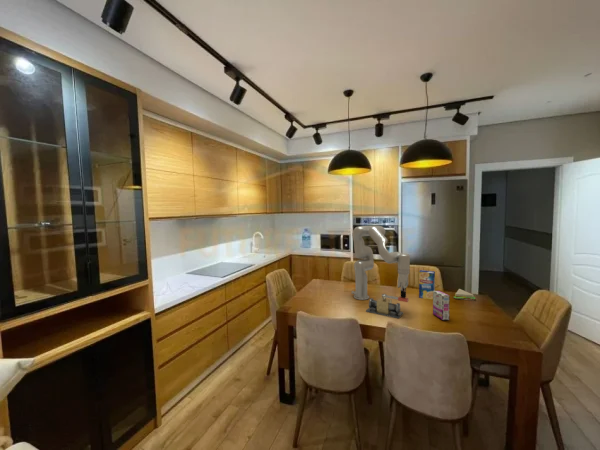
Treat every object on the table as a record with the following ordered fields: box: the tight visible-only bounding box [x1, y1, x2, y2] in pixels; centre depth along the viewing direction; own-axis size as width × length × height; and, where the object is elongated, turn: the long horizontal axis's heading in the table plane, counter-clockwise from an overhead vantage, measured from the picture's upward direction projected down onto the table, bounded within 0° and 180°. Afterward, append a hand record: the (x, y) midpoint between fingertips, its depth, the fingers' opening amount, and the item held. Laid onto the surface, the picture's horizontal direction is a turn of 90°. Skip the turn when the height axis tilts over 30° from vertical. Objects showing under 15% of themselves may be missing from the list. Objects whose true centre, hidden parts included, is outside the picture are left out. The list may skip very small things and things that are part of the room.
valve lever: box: [381, 293, 409, 303], centre depth 180 cm, size 18×3×2 cm, turn 53°
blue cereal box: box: [418, 269, 436, 301], centre depth 212 cm, size 7×11×22 cm, turn 56°
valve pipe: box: [365, 297, 404, 319], centre depth 184 cm, size 23×11×11 cm, turn 54°
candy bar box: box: [432, 290, 450, 321], centre depth 175 cm, size 11×5×16 cm, turn 5°
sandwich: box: [453, 288, 476, 301], centre depth 212 cm, size 15×20×5 cm
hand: (403, 296), depth 183 cm, fingers closed
